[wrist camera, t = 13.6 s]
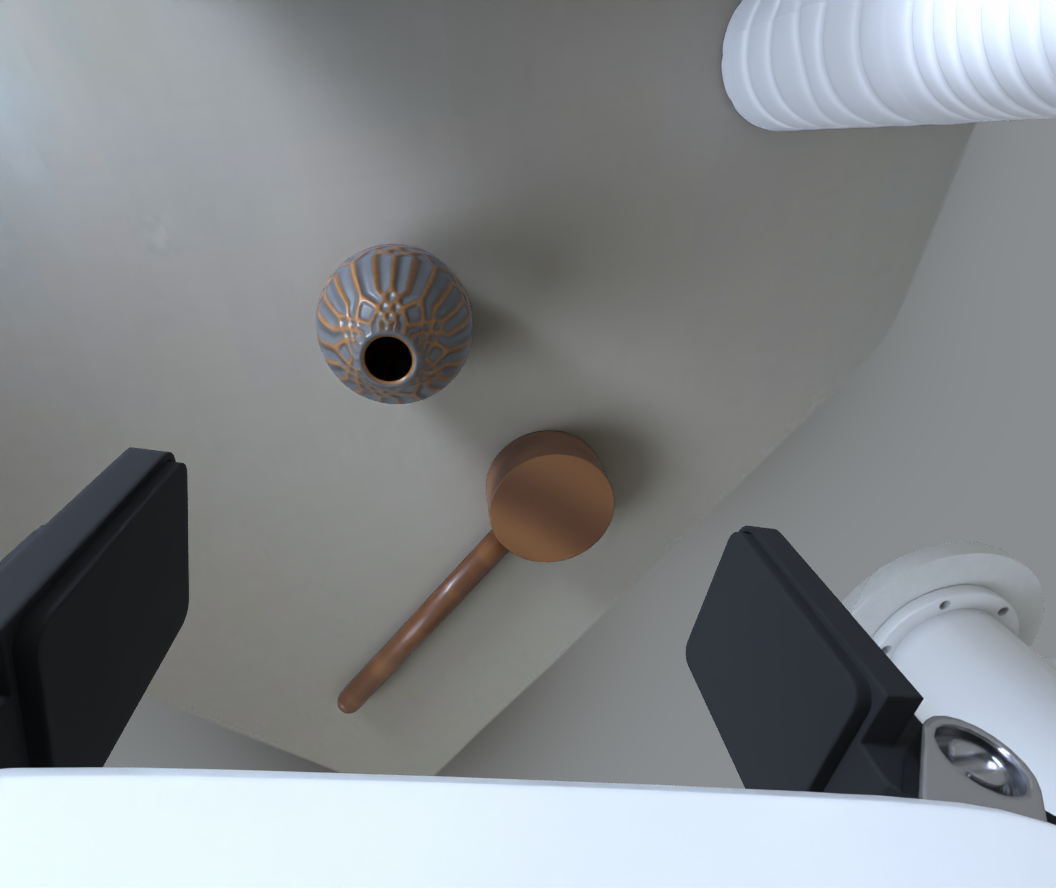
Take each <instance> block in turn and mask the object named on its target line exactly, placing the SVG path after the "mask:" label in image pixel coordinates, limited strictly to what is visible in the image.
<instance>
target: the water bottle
mask: <svg viewBox="0 0 1056 888" xmlns="http://www.w3.org/2000/svg"><path fill="white" fill-rule="evenodd" d="M722 50H723V58H722V63H721V68H722V77H723V82H724V86H725V90H726V92H727V95H728V97H729V98H730V99H731V101H732V102H733V105H734V107H735V109H736V110H737V112H738V113H739V114H740V115H741V116H742V117H743V118H744V119H746V120H747V121H748V122H750V123H751V124H753V125H755V126H757V127H760V128H764V129H766V130H771V131H798V130H807V129H808V130H819V129H829V128H833V129H844V128H854V127H861V128H870V127H883V126H915V125H924V124H933V125H950V124H963V123H972V122H982V121H1006V120H1029V119H1055V118H1056V0H742V1H741V3H740V5H739V6H738V7H737V8H736V10H735V12H734V13H733V15H732V17H731V20H730V22H729V25H728V27H727V30H726V34H725V37H724V42H723V49H722Z"/></svg>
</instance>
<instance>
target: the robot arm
mask: <svg viewBox="0 0 1056 888" xmlns="http://www.w3.org/2000/svg"><path fill="white" fill-rule="evenodd" d="M188 605H189V569H188V492H187V468H186V465H185V464H184V463H178V462H176V461H175V457H174V455H173V454H172V453H171V452H164V451H156V450H148V449H140V448H128V449H127V450H125V451H124V452H123V453H122V454H121V455H120V456H119V457H118V458H117V459H116V460H115V461H114V462H113V463H111V464H110V465H109V466H108V467H107V468H106V469H105V470H104V471H103V472H102V473H101V474H100V475H99V476H97V477H96V478H95V479H94V480H93V481H92V482H91V483H90V484H89V485H88V486H87V487H86V488H85V489H83V490H82V491H81V492H80V493H79V494H78V495H77V496H76V497H75V498H74V499H73V500H72V501H71V502H69V503H68V504H67V505H66V506H65V507H64V508H63V509H62V510H61V511H60V512H59V513H58V514H57V515H55V516H54V517H53V518H52V519H51V520H50V521H49V522H48V523H47V524H46V525H42V526H41V527H39V528H38V529H36V530H35V531H33V532H32V533H31V534H30V535H29V536H28V537H27V538H26V539H25V540H24V541H22V542H21V543H20V544H19V545H18V546H17V547H16V548H15V549H14V550H13V551H12V552H10V553H9V554H8V555H7V556H6V557H5V558H4V559H3V560H2V561H1V562H0V888H1056V660H1055V659H1053V658H1049V657H1040V656H1039V655H1038V654H1037V653H1036V652H1035V651H1033V650H1032V649H1031V648H1030V647H1029V646H1028V645H1026V644H1025V643H1024V642H1023V641H1022V640H1021V639H1019V638H1018V632H1019V621H1018V616H1017V613H1016V611H1015V610H1014V608H1013V606H1012V605H1011V604H1010V603H1009V602H1007V601H1006V600H1005V599H1004V598H1003V597H1002V596H1000V595H999V594H997V593H996V592H995V591H993V590H991V589H988V588H985V587H982V586H975V585H958V586H951V587H946V588H942V589H938V590H935V591H932V592H930V593H927V594H924V595H922V596H920V597H919V598H917V599H915V600H913V601H911V602H909V603H908V604H906V605H905V606H903V607H902V608H900V609H899V610H897V611H896V612H895V613H894V614H893V615H892V616H891V617H889V618H888V619H887V620H886V621H885V622H884V623H883V625H882V626H881V627H880V628H879V629H878V630H877V632H876V633H875V635H874V636H873V638H871V637H870V636H869V634H868V633H867V632H866V631H865V630H864V629H863V627H862V626H861V625H860V624H859V623H858V622H857V621H856V619H855V618H854V617H853V616H852V615H851V614H850V612H849V611H848V610H847V609H846V608H845V607H844V606H843V604H842V603H841V602H840V601H839V600H838V599H837V597H836V596H835V595H834V594H833V593H832V592H831V591H830V590H829V588H828V587H827V586H826V585H825V584H824V583H823V581H822V580H821V579H820V578H819V577H818V576H817V574H816V573H815V572H814V571H813V570H812V569H811V567H810V566H809V565H808V564H807V563H806V562H805V561H804V560H803V558H802V557H801V556H800V555H799V554H798V553H797V552H796V550H795V549H794V548H793V547H792V546H791V544H790V543H789V542H788V541H787V540H786V539H785V538H784V536H783V535H782V534H781V533H780V532H778V530H776V529H769V528H760V527H753V526H745V527H742V528H741V529H740V531H739V532H735V533H733V534H732V535H731V536H730V538H729V540H728V542H727V545H726V548H725V550H724V552H723V555H722V557H721V560H720V562H719V565H718V567H717V570H716V572H715V575H714V577H713V580H712V582H711V585H710V587H709V590H708V592H707V595H706V597H705V600H704V602H703V605H702V607H701V610H700V612H699V615H698V617H697V620H696V622H695V625H694V627H693V630H692V632H691V635H690V637H689V640H688V642H687V646H686V660H687V663H688V666H689V668H690V670H691V672H692V674H693V677H694V679H695V681H696V683H697V685H698V687H699V690H700V692H701V694H702V696H703V698H704V700H705V703H706V705H707V706H708V709H709V711H710V713H711V715H712V717H713V720H714V722H715V724H716V726H717V728H718V731H719V733H720V735H721V737H722V739H723V741H724V743H725V746H726V748H727V750H728V752H729V754H730V756H731V758H732V761H733V763H734V765H735V767H736V769H737V771H738V774H739V776H740V778H741V780H742V782H743V784H744V786H745V789H738V788H716V787H693V786H670V785H647V784H623V783H621V784H620V783H597V782H572V781H547V780H520V779H518V780H517V779H492V778H465V777H439V776H410V775H379V774H348V773H317V772H287V771H256V770H253V771H252V770H221V769H220V770H219V769H178V768H177V769H176V768H113V767H106V768H105V767H103V765H104V764H105V762H106V760H107V758H108V757H109V755H110V753H111V751H112V749H113V748H114V746H115V744H116V742H117V740H118V739H119V737H120V735H121V733H122V732H123V730H124V728H125V726H126V725H127V723H128V721H129V719H130V717H131V716H132V714H133V712H134V710H135V709H136V707H137V705H138V703H139V701H140V700H141V698H142V696H143V694H144V693H145V691H146V689H147V687H148V685H149V684H150V682H151V680H152V678H153V676H154V675H155V673H156V671H157V669H158V668H159V666H160V664H161V662H162V660H163V659H164V657H165V655H166V653H167V652H168V650H169V648H170V646H171V644H172V643H173V641H174V639H175V637H176V636H177V634H178V632H179V630H180V628H181V627H182V625H183V623H184V620H185V617H186V614H187V610H188ZM914 713H915V714H916V716H917V717H918V718H919V719H920V720H921V722H922V723H923V724H922V723H921V722H920V721H919V720H918V718H917V717H916V716H915V715H914Z"/></svg>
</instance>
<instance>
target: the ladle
mask: <svg viewBox="0 0 1056 888" xmlns="http://www.w3.org/2000/svg"><path fill="white" fill-rule="evenodd" d="M486 494H487V502H488V510H489V517H490V523H491V527H492V530H491V531H490V532H489V533H488V534H487V536H486V537H485V538H484V539H483V540H482V541H481V542H480V543H479V544H478V545H477V546H476V547H475V549H474V550H473V551H472V552H471V553H470V554H469V555H468V556H467V557H466V558H465V559H464V560H463V561H462V563H461V564H460V565H459V566H458V567H457V568H456V569H455V570H454V571H453V572H452V573H451V574H450V575H449V577H448V578H447V579H446V580H445V581H444V582H443V583H442V584H441V585H440V586H439V587H438V588H437V589H436V591H435V592H434V593H433V594H432V595H431V596H430V597H429V598H428V599H427V600H426V601H425V602H424V604H423V605H422V606H421V607H420V608H419V609H418V610H417V611H416V612H415V613H414V614H413V615H412V616H411V618H410V619H409V620H408V621H407V622H406V623H405V624H404V625H403V626H402V627H401V628H400V629H399V630H398V632H397V633H396V634H395V635H394V636H393V637H392V638H391V639H390V640H389V641H388V642H387V643H386V644H385V646H384V647H383V648H382V649H381V650H380V651H379V652H378V653H377V654H376V655H375V656H374V657H373V659H372V660H371V661H370V662H369V663H368V664H367V665H366V666H365V667H364V668H363V669H362V670H361V671H360V673H359V674H358V675H357V676H356V677H355V678H354V679H353V680H352V681H351V682H350V683H349V684H348V685H347V687H346V688H345V689H344V690H343V691H342V692H341V693H340V695H339V697H338V702H337V703H338V707H339V709H340V710H341V711H342V712H344V713H353V712H355V711H357V710H358V709H359V708H360V707H361V706H362V705H363V704H364V703H365V702H366V701H367V700H368V698H369V697H370V696H371V695H372V694H373V693H374V692H375V691H376V690H377V689H378V688H379V687H380V686H381V685H382V684H383V683H384V682H385V681H386V680H387V678H388V677H389V676H390V675H391V674H392V673H393V672H394V671H395V670H396V669H397V668H398V667H399V666H400V665H401V664H402V663H403V662H404V661H405V659H406V658H407V657H408V656H409V655H410V654H411V653H412V652H413V651H414V650H415V649H416V648H417V647H418V646H419V645H420V644H421V643H422V642H423V641H424V639H425V638H426V637H427V636H428V635H429V634H430V633H431V632H432V631H433V630H434V629H435V628H436V627H437V626H438V625H439V624H440V623H441V622H442V621H443V619H444V618H445V617H446V616H447V615H448V614H449V613H450V612H451V611H452V610H453V609H454V608H455V607H456V606H457V605H458V604H459V603H460V602H461V601H462V599H463V598H464V597H465V596H466V595H467V594H468V593H469V592H470V591H471V590H472V589H473V588H474V587H475V586H476V585H477V584H478V583H479V582H480V581H481V579H482V578H483V577H484V576H485V575H486V574H487V573H488V572H489V571H490V570H491V569H492V568H493V567H494V566H495V565H496V564H497V563H498V562H499V561H500V559H501V558H502V557H503V556H504V555H505V554H506V553H507V552H508V551H510V552H512V553H513V554H515V555H517V556H519V557H522V558H524V559H527V560H531V561H537V562H556V561H562V560H566V559H569V558H572V557H574V556H577V555H579V554H581V553H583V552H584V551H586V550H587V549H589V548H590V547H592V546H593V545H594V544H595V543H596V542H597V541H598V540H599V539H600V538H601V537H602V536H603V534H604V533H605V531H606V530H607V528H608V526H609V524H610V522H611V519H612V516H613V512H614V493H613V489H612V486H611V484H610V482H609V480H608V478H607V476H606V474H605V472H604V470H603V468H602V466H601V464H600V462H599V460H598V458H597V456H596V454H595V453H594V451H593V450H592V449H591V448H590V447H589V446H588V445H587V444H586V443H585V442H583V441H582V440H580V439H579V438H577V437H574V436H572V435H570V434H567V433H563V432H557V431H540V432H535V433H531V434H528V435H525V436H522V437H520V438H518V439H516V440H515V441H513V442H511V443H510V444H509V445H507V446H506V447H505V448H504V449H503V450H502V451H501V452H500V453H499V454H498V455H497V457H496V458H495V459H494V461H493V463H492V465H491V467H490V469H489V472H488V475H487V480H486Z"/></svg>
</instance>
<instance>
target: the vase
mask: <svg viewBox="0 0 1056 888" xmlns="http://www.w3.org/2000/svg"><path fill="white" fill-rule="evenodd" d="M316 330H317V336H318V341H319V345H320V348H321V351H322V353H323V356H324V358H325V360H326V362H327V363H328V365H329V367H330V368H331V370H332V371H333V372H334V374H335V375H336V376H337V377H338V378H339V379H340V380H341V381H342V382H343V383H344V384H345V385H346V386H347V387H349V388H350V389H351V390H353V391H354V392H356V393H357V394H359V395H361V396H363V397H366V398H368V399H370V400H374V401H377V402H381V403H387V404H406V403H412V402H417V401H420V400H423V399H425V398H428V397H430V396H432V395H434V394H436V393H437V392H439V391H440V390H442V389H443V388H444V387H446V386H447V385H448V384H449V383H450V382H451V381H452V380H453V379H454V378H455V377H456V375H457V374H458V373H459V371H460V370H461V368H462V367H463V365H464V363H465V361H466V359H467V357H468V354H469V352H470V348H471V345H472V340H473V314H472V309H471V305H470V302H469V299H468V296H467V294H466V291H465V289H464V287H463V286H462V284H461V282H460V281H459V279H458V278H457V277H456V275H455V274H454V273H453V272H452V270H451V269H450V268H449V267H448V266H447V265H446V264H444V263H443V262H442V261H441V260H439V259H438V258H437V257H435V256H433V255H432V254H430V253H428V252H426V251H424V250H421V249H419V248H415V247H412V246H408V245H401V244H385V245H378V246H374V247H371V248H368V249H365V250H363V251H360V252H358V253H356V254H355V255H353V256H351V257H350V258H348V259H347V260H346V261H345V262H343V263H342V264H341V265H340V266H339V267H338V268H337V269H336V270H335V271H334V272H333V274H332V275H331V276H330V278H329V279H328V281H327V283H326V284H325V286H324V288H323V290H322V293H321V295H320V298H319V302H318V307H317V314H316Z"/></svg>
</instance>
